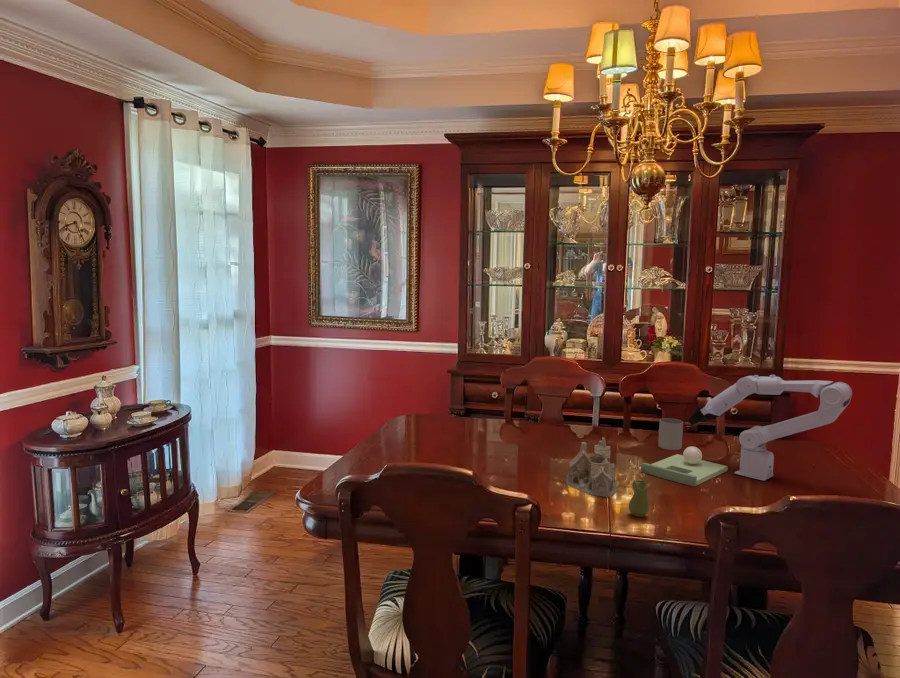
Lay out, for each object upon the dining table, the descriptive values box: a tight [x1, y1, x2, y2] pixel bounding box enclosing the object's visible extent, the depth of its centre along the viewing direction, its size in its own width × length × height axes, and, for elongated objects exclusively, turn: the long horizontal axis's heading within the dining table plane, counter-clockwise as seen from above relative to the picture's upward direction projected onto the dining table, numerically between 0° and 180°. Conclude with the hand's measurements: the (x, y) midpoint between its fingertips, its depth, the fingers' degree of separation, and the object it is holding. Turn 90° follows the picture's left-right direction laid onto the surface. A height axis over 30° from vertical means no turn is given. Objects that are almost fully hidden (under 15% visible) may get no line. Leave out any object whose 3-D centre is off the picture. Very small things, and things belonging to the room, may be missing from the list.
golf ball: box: [682, 446, 703, 465], centre depth 210 cm, size 6×6×6 cm
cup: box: [657, 417, 684, 451], centre depth 236 cm, size 8×8×10 cm
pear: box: [628, 479, 650, 518], centre depth 169 cm, size 6×5×10 cm
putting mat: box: [640, 453, 729, 488], centre depth 207 cm, size 18×24×3 cm
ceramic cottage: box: [565, 436, 619, 498], centre depth 191 cm, size 16×16×15 cm
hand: (695, 421), depth 218 cm, fingers open, 7 cm apart
